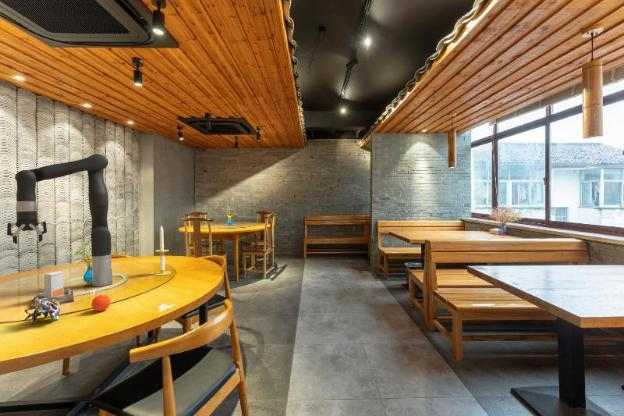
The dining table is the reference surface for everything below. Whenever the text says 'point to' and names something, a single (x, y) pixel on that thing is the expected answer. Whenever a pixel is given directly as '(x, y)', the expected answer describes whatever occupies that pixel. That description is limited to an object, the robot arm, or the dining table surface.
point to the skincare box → (53, 284)
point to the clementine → (101, 302)
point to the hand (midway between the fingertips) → (28, 242)
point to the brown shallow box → (62, 299)
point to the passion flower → (45, 310)
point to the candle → (162, 255)
